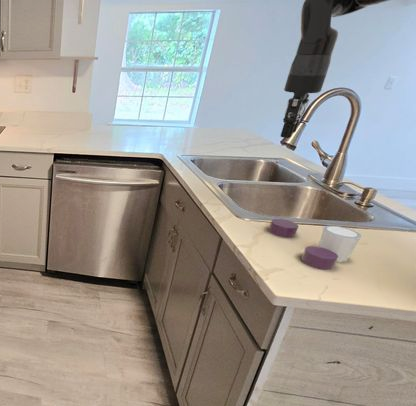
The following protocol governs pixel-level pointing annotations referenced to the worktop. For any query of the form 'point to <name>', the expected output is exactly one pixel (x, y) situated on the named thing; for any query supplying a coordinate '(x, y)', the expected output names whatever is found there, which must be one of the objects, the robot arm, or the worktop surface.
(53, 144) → the worktop surface
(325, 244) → the shot glass
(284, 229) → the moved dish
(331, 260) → the purple short cylinder
